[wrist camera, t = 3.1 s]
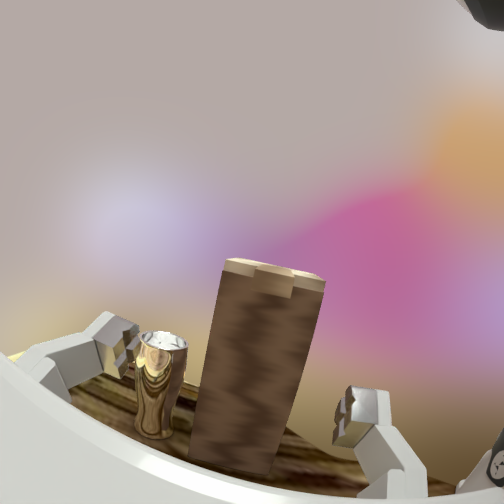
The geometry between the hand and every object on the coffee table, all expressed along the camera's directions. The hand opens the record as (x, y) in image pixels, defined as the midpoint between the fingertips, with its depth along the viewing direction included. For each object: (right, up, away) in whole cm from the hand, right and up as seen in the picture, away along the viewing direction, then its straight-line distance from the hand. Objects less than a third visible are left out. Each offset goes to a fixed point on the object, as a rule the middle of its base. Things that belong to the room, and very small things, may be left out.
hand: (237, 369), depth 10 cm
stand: (-2, -24, +28) cm, 37 cm away
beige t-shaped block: (+3, +1, +22) cm, 22 cm away
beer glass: (-14, -22, +27) cm, 37 cm away
